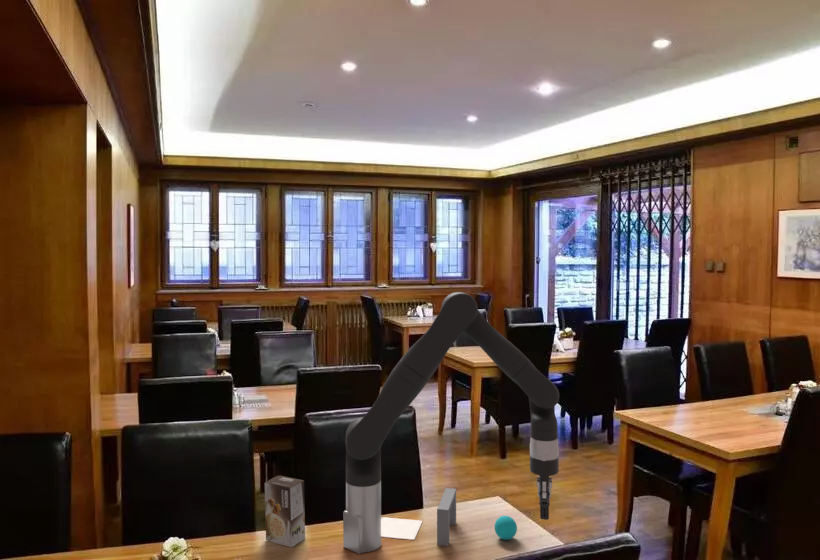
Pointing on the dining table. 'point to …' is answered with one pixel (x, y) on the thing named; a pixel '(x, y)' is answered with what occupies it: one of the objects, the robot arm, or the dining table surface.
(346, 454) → the robot arm
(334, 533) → the dining table surface
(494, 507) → the dining table surface
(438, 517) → the bridge
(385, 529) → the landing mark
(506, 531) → the ball
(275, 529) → the coffee box
